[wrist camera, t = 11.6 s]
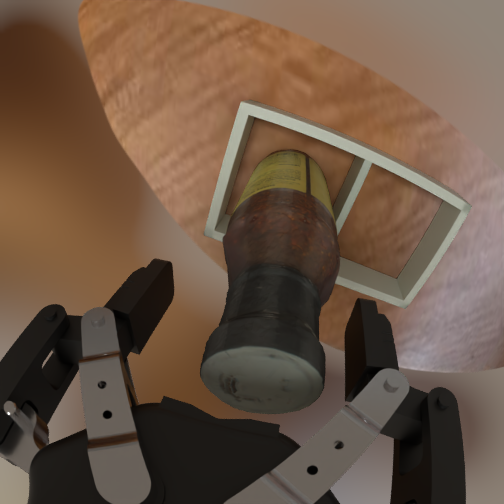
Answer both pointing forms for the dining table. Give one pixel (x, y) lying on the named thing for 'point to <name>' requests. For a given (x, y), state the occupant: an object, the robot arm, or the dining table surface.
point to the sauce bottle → (275, 289)
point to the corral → (349, 203)
